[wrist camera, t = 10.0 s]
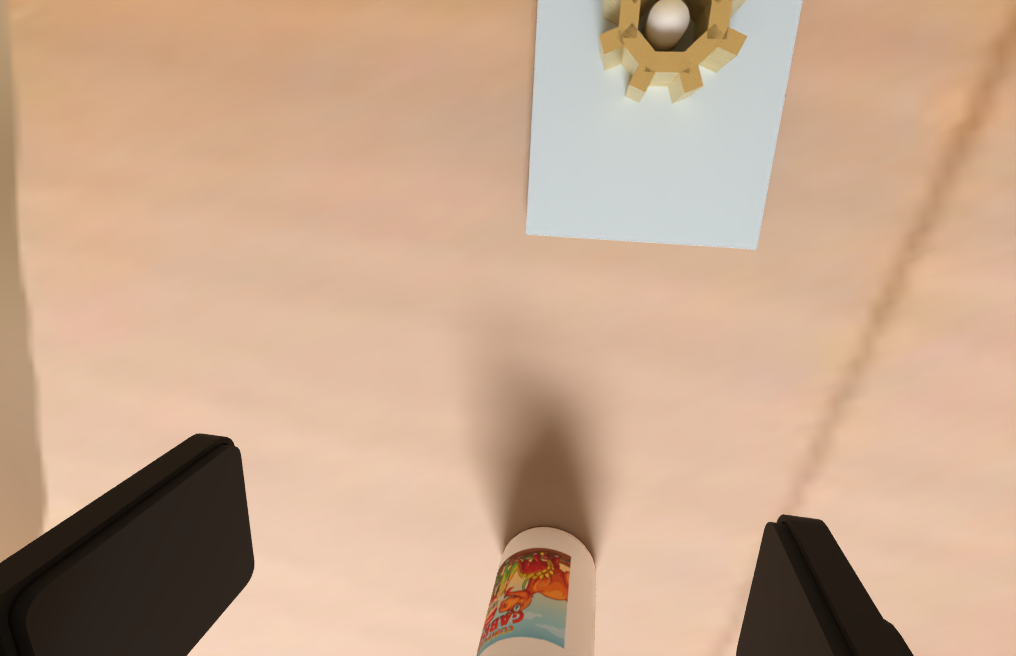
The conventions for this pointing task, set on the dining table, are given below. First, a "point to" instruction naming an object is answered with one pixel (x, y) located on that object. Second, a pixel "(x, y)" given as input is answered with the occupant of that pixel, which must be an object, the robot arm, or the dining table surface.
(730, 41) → the brass gear
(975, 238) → the dining table surface
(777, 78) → the board
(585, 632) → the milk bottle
